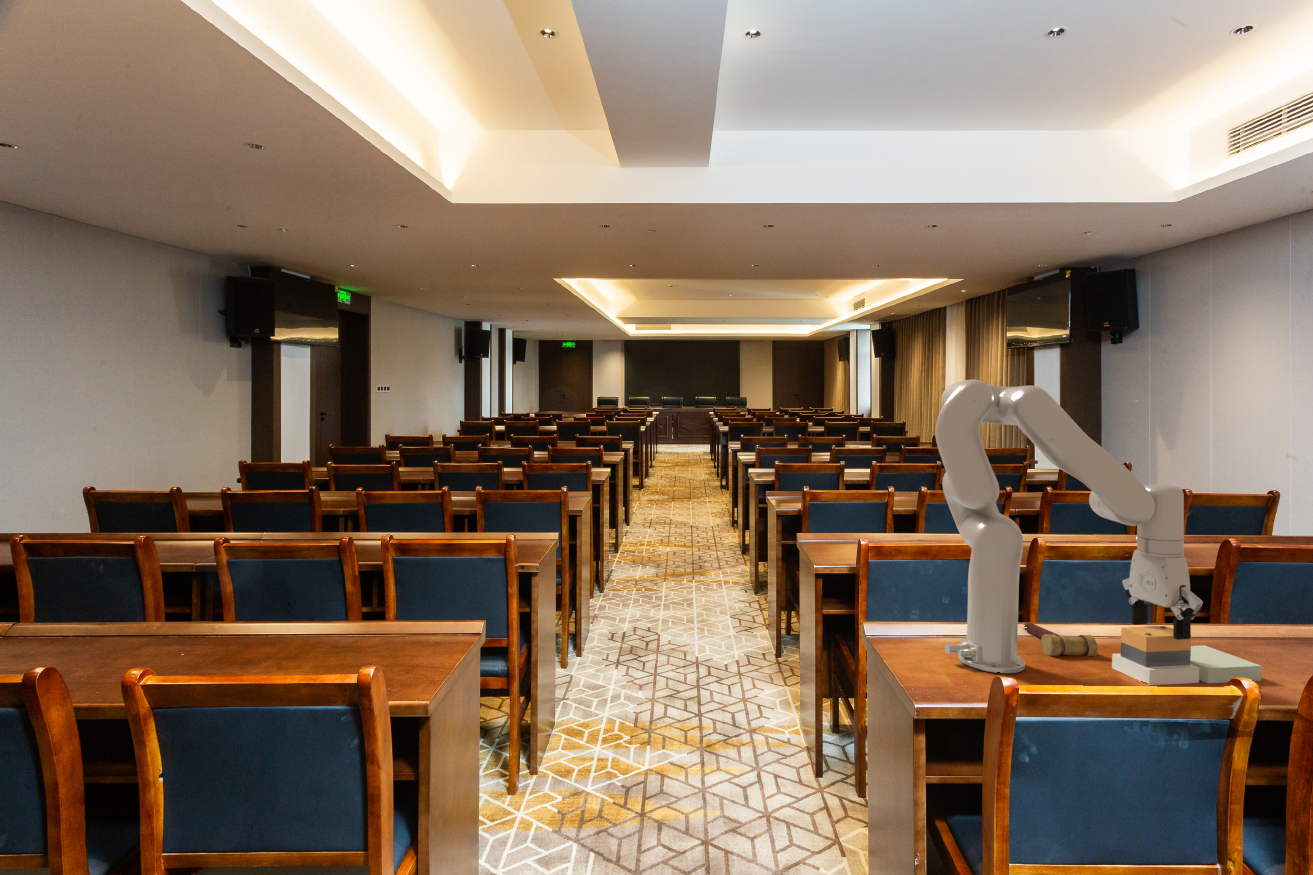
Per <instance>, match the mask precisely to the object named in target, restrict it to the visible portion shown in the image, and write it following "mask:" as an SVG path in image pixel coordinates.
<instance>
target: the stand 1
mask: <svg viewBox="0 0 1313 875" xmlns="http://www.w3.org/2000/svg"><path fill="white" fill-rule="evenodd" d="M1111 658H1112V659H1111V669H1112V670H1115V671H1118V672H1120V673H1122V674H1124V675H1126V676H1127V677H1130V678H1133V679H1135V680H1136V681H1138V682H1141V681H1143V682H1147V683H1149V684H1148V686H1161V685H1181V684H1184V685H1185V684H1199V683H1200V680H1199V667H1196V666H1194V665H1191V664H1190V665H1180V666H1158V667H1144V666H1142V665H1139V664H1137V663H1135V662H1133V661H1130V660H1128V659H1126V658H1123V657H1121V652H1120V653H1112V656H1111ZM1143 682H1142V683H1143ZM1156 683H1158V684H1156Z"/></svg>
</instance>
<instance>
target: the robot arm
mask: <svg viewBox="0 0 1313 875" xmlns="http://www.w3.org/2000/svg"><path fill="white" fill-rule="evenodd" d="M940 405H941V408H940V410H939V413H938V416H937V420H936V423H935V424H936V425H935V442H936V446H937V450H938V453H939V455H940V457H941V461H942V465H943V466H944V469H945V473H944V475H943V477H942V484H941V485H942V491H943V495H944V498H945V500H946V502H947V505H948V508H949V511H950V513H951V515H952V518H953V521H954V523H955V525H956V528H957V530H958V532H959V536H961V539H962V541H964V543H965V544H966V545H967V546H969V548H971V550H970V551H971V552H970V553H971V554H970V560H969V564H968V576H967V577H968V578H967V614H966V615H967V617H966V618H967V619H966V620H967V622H966V625H967V626H966V637H962V638H961V642H959V643H957V644H955V643H947V644H945V645H944V651H945V653H946V654H948V655H949V654H950V655H951V654H957V655H958V656H957V657H958V660H959V661H960V662H961V663H962V664H964V665H966V666H968V667H971V668H973V669H976V670H980V671H984V672H990V673H996V674H998V673H997V672H1000V673H999V674H1016V673H1019V672H1022V671H1024V670H1025V669H1026V661H1025V660H1024V659H1023V658H1021V657H1020V656H1019V655H1018V626H1019V625H1018V624H1019V594H1020V593H1019V592H1020V591H1019V590H1020V589H1019V588H1020V587H1019V586H1020V585H1019V584H1020V571H1021V570H1020V568H1021V564H1022V563H1021V562H1022V559H1023V558H1022V557H1023V551H1024V536H1023V533H1022V531H1021V528H1020V526H1019V525H1018V524H1017V523H1016V522H1015V521H1014V520H1013V519H1011V518H1010V517H1009V516H1008V515H1005V514H1002V513H1000V511H999V508H998V506H997V503H996V502H997V501H998V499H999V496H1000V485H999V482H998V479H997V477H996V475H995V472H994V470H993V468H992V465H991V462H990V461H989V458H988V455H987V453H986V450H985V447H984V444H983V442H982V441H983V440H982V437H981V426H982V423H984V424H993V425H1006V426H1017V427H1018V429H1020V430H1021V432H1022V433H1023V434H1024V435H1025V436H1026V437H1027V438H1028V440H1030V441H1031V443H1032V444H1033V445H1034V446H1035V447H1036V448H1037V449H1038V450H1039V451H1040V452H1041V454H1042V455H1043V456H1044V457H1045V458H1046V459H1047V460H1048V461H1049V462H1050V463H1051V464H1052V465H1054V466H1055V467H1056V468H1058V469H1059V470H1061V471H1063V472H1064V473H1065V474H1068V475H1070V476H1071V477H1073V478H1075V479H1076V480H1078V481H1079V482H1081V483H1083V485H1085V486H1086V487H1087V488H1088V489H1089V490H1091V492H1090V494H1089V497H1088V503H1089V506H1090V508H1091V510H1092V511H1093V512H1094V513H1095V514H1096V515H1098V516H1099V517H1101V518H1104V519H1106V520H1109V521H1112V522H1117V523H1119V524H1123V525H1125V526H1132V527H1134V526H1137V527H1136V537H1135V542H1136V549H1135V550H1134V551H1133V554H1132V558H1131V562H1130V569H1129V577H1128V578H1125V579H1123V580H1122V582H1121V583H1122V586H1123V588H1124V592H1125V595H1126V596H1127V598H1128V603H1129V604H1130V605H1131V623H1132V625H1135V626H1136V625H1137V626H1138V625H1146V624H1148V622H1149V621H1148V620H1149V618H1148V617H1149V613H1148V611H1149V606H1148V604H1145V603H1149V604H1151V605H1156V606H1159V607H1162V608H1170V610H1171V611H1172V613H1173V614H1174V616H1175V617H1176V618H1173V624H1172V625H1173V627H1172V629H1173V637H1174V639H1177V640H1181V639H1190V637H1191V638H1192V632H1191V631H1192V628H1191V624H1192V620H1194V619H1195V617H1196V616H1197V615H1198V614H1199V613H1200V610H1201V608H1202V606H1203V604H1204V602H1203V600H1202V599H1201V598H1200V597H1198V596H1197V595H1196V594H1195V593H1194V592H1192V591H1191V583H1190V582H1191V581H1190V580H1191V579H1190V572H1189V566H1188V562H1187V557H1186V556H1184V555H1185V546H1184V545H1185V541H1184V540H1185V538H1184V537H1185V536H1184V530H1185V529H1184V526H1185V524H1184V522H1185V520H1184V519H1185V517H1184V516H1185V515H1184V513H1185V510H1184V509H1185V508H1184V507H1185V502H1184V495H1185V494H1184V491H1183V490H1182V488H1180V487H1179V486H1177V485H1172V484H1171V485H1170V484H1169V485H1168V484H1146V485H1145V484H1142V483H1141V481H1140V480H1139V479H1138V478H1137V477H1136V476H1135V475H1134V474H1133V473H1132V472H1131V471H1130V470H1129V469H1128V468H1127V467H1126V466H1125V465H1124V464H1123V463H1122V462H1120V461H1119V460H1118V459H1117V458H1116V457H1114V456H1113V455H1112V454H1111V453H1109V452H1108V451H1107V450H1106V449H1104V448H1103V447H1102V446H1101V445H1100V444H1098V443H1097V442H1096V441H1094V439H1092V438H1091V437H1090V436H1088V434H1087V433H1086V432H1084V431H1083V429H1082V428H1081V427H1080V426H1079V425H1078V424H1077V423H1076V422H1075V421H1074V420H1073V418H1071V416H1070V415H1069V414H1068V413H1067V412H1066V411H1065V410H1064V409H1063V408H1062V407H1061V405H1060V404H1059V403H1058V402H1057V401H1056V400H1055V399H1054V398H1053V397H1052V395H1050V394H1049V393H1048V392H1047V391H1046V390H1045V389H1043V388H1041V387H1040V386H1036V385H1031V384H1030V385H1020V386H1019V385H1018V386H1001V385H990V384H988V383H986V382H985V381H982V380H979V379H972V378H971V379H965V380H960V381H958V382H957V381H956V382H953V383H952V384H950V385H948V386H947V387H946V388H945V389H944V390H943V392H942V395H941V398H940Z"/></svg>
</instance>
